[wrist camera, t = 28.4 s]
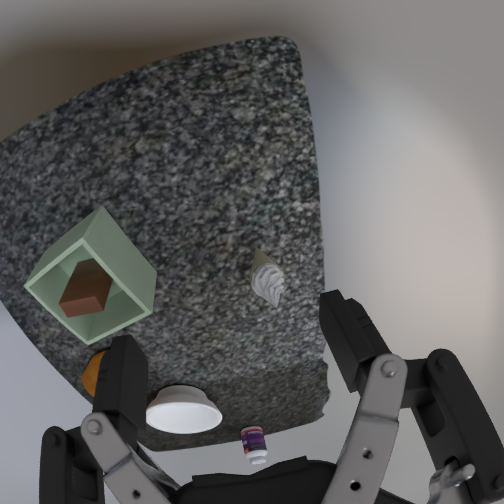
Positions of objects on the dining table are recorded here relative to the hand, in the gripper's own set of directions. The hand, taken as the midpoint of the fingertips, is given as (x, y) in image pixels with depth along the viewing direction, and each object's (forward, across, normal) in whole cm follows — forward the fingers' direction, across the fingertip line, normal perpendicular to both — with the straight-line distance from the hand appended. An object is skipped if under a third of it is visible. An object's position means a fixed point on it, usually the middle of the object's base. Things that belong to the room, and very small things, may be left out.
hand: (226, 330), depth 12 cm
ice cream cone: (+34, -5, +19) cm, 40 cm away
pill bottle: (+34, +7, +97) cm, 103 cm away
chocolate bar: (+33, +23, +15) cm, 43 cm away
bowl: (+34, +22, +62) cm, 74 cm away
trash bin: (+34, +23, +15) cm, 43 cm away
